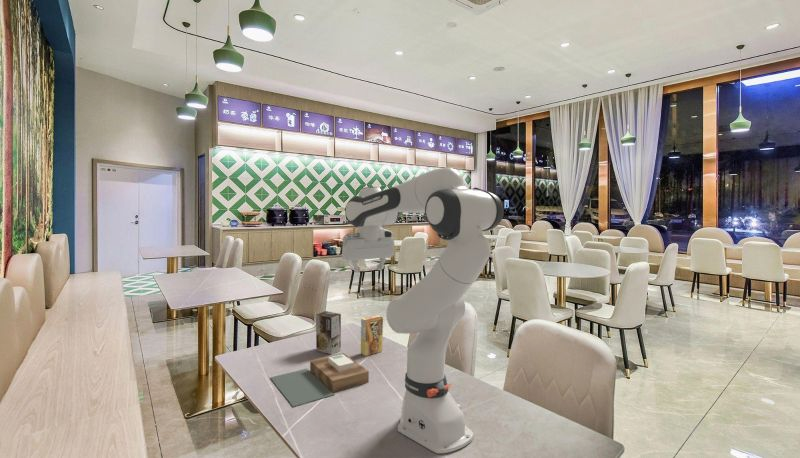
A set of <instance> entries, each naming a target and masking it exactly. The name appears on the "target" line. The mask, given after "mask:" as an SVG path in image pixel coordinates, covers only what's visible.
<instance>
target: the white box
mask: <svg viewBox="0 0 800 458" xmlns="http://www.w3.org/2000/svg"><path fill="white" fill-rule="evenodd" d="M336 355H337V354H336ZM345 355H346V354H345ZM345 355H343V354H342V355H337V356H333V355H332V356H333V357H329V358H328V363H329V364H331V365H332V366H333V367H334V368H335V369H337V370H338V371H343V370H347V369H351V368H354V362H353V361H352V360H353V359H352V360H350V359H349V358H347V357H346V356H345Z"/></svg>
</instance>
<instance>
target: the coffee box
mask: <svg viewBox="0 0 800 458" xmlns="http://www.w3.org/2000/svg"><path fill="white" fill-rule="evenodd" d="M341 316H342V314H341V313H337V312H332V311H327V310H325V311H322V312H319V313H317V314H315V334H316V335H315V338H316V341H315V342H316V344H315V345H316V346H315V347H316V351H317V352H321V353H325V354H328V355H330V356H333V355H335V354H336V353H338V352H341V351H342V350H341V349H342V347H341V346H342V345H341V344H342V343H341V342H342V341H341V340H342V338H341V337H342V334H341V333H342V331H341V329H342V326H341V325H342V321H341V320H342V317H341Z"/></svg>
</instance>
